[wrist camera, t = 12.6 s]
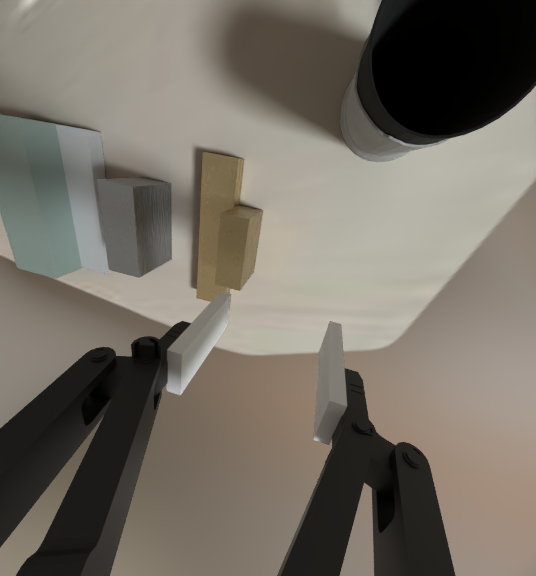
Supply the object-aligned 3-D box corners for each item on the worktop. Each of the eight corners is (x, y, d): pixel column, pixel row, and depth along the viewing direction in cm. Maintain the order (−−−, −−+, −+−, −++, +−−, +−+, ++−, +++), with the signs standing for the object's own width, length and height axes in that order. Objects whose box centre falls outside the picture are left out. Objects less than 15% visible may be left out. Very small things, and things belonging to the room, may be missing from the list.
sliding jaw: (202, 291, 37) (181, 312, 31) (210, 152, 29) (183, 149, 23) (249, 303, 36) (235, 326, 31) (270, 164, 28) (256, 162, 22)
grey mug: (323, 139, 26) (319, 108, 13) (413, -60, 19) (604, -565, 6) (400, 176, 26) (478, 184, 13) (517, -11, 19) (943, -413, 6)
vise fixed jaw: (59, 254, 40) (17, 267, 34) (29, 118, 31) (-32, 108, 26) (116, 269, 38) (82, 285, 33) (100, 132, 30) (52, 124, 25)
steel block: (146, 252, 36) (108, 269, 30) (141, 177, 32) (96, 179, 25) (172, 258, 36) (139, 277, 29) (171, 183, 31) (132, 186, 25)
